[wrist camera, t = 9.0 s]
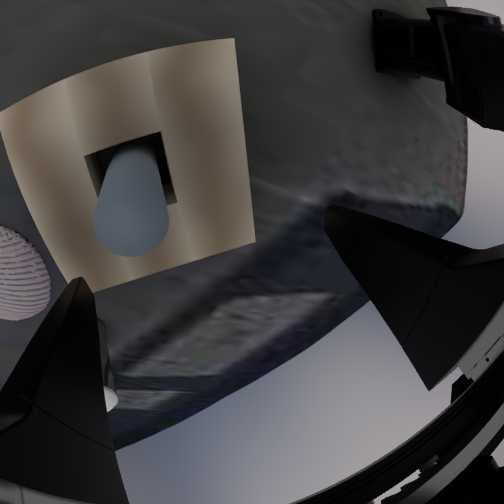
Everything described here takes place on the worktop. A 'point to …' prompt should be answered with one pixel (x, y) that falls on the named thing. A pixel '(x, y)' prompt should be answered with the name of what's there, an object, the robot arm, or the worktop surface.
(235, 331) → the worktop surface
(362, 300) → the worktop surface
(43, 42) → the worktop surface
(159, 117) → the socket block
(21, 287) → the seashell
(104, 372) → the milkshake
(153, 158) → the dowel
